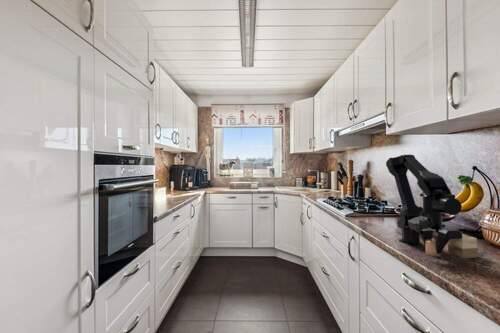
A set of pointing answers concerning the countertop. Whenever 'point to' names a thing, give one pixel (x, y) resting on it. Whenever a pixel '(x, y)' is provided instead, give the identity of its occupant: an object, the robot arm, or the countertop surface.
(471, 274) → the countertop surface
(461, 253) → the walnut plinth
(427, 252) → the tan rounded piece
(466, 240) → the maple block
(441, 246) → the robot arm
